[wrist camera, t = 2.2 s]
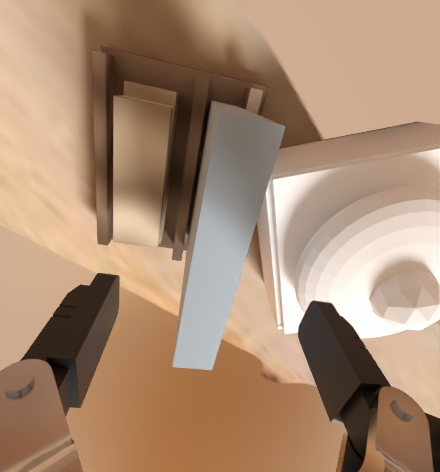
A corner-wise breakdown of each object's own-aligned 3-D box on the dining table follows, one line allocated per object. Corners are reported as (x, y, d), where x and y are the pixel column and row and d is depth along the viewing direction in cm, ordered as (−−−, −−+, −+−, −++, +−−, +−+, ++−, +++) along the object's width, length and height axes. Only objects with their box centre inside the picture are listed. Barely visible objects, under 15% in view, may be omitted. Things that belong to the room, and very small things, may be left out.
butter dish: (247, 154, 27) (293, 220, 13) (422, 120, 26) (673, 152, 12) (263, 282, 35) (300, 404, 21) (394, 260, 34) (521, 372, 21)
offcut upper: (123, 95, 20) (113, 95, 18) (175, 106, 20) (171, 108, 18) (121, 229, 26) (113, 241, 23) (161, 235, 26) (157, 248, 24)
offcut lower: (132, 82, 22) (123, 80, 19) (179, 92, 22) (176, 92, 20) (127, 226, 28) (121, 237, 26) (163, 232, 29) (160, 243, 27)
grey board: (211, 100, 22) (218, 111, 9) (237, 106, 23) (286, 126, 9) (188, 235, 29) (172, 366, 15) (209, 239, 29) (211, 370, 15)
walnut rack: (107, 48, 22) (85, 38, 18) (264, 87, 23) (276, 85, 20) (108, 232, 30) (94, 253, 26) (224, 249, 32) (226, 271, 28)
